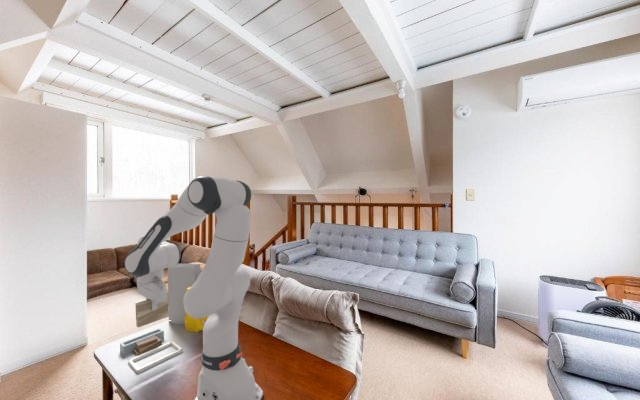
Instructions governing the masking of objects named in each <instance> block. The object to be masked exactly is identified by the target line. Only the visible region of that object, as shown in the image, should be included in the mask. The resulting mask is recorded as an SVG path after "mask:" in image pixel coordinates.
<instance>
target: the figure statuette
mask: <svg viewBox="0 0 640 400" xmlns="http://www.w3.org/2000/svg"><path fill="white" fill-rule="evenodd" d="M189 288H190V287H189ZM189 288H187V290H188V289H189ZM187 290H186V292H187ZM185 313H186V316H185V318H184V322H185V324H184V327H185V330H186V331H189V332H192V333H193V332H194V333H198V332H201V331H203V327H204V323H205V322H206V320H207V319H208V316H207V317H204V318H201V319H195V318H192V317H191V316H189V315H188V314H187V312H186V311H185ZM203 321H204V322H203Z"/></svg>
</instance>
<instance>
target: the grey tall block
mask: <svg viewBox="0 0 640 400" xmlns="http://www.w3.org/2000/svg"><path fill="white" fill-rule="evenodd" d="M200 273H201V263H178V264H177V265H175V266H173V267H169V268H167V287H168V288H167V291H168V292H167V295H168V312H169V317H168V323H169V324H180V325H182V324H184V325H185V322H184V318H185V316H186V313H185V309H184V305H183V299H184V295H185V293H186V290H187V288H189V287H191V286H192V285H193V284H194V283H195V281H196V280H197V278H198V277H199V275H200ZM169 320H171V321H169Z"/></svg>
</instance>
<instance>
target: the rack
mask: <svg viewBox="0 0 640 400" xmlns="http://www.w3.org/2000/svg"><path fill="white" fill-rule="evenodd" d="M152 336H156V337H158V338H160V339H161V340H162V345H164V344H167V343H169V342H171V340H170V341H168V340H167V339H166V338H165V332H164V329H162V328H161V327H158V328H156V329H154V330H151V331H147V332H145V333H143V334H140V335H138V336H135V337H133V338H130V339H127V340H125V341H122V342H119V352H120V353H121V354H122V355H123V356H124V358H125V359H126V360H127V361H128V360H130V359H132V358H135V357H137V356H136V355H135V354H134V353H133V349H135V348H136V342H138V341H140V340H143V339H146V338H149V337H152ZM162 345H161V346H162ZM159 347H160V346H159ZM156 348H157V347H156ZM154 349H155V348H154ZM152 350H153V349H152ZM149 351H151V350H149ZM147 352H148V351H147ZM145 353H146V352H145ZM142 354H144V353H142ZM140 355H141V354H140ZM138 356H139V355H138Z"/></svg>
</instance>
